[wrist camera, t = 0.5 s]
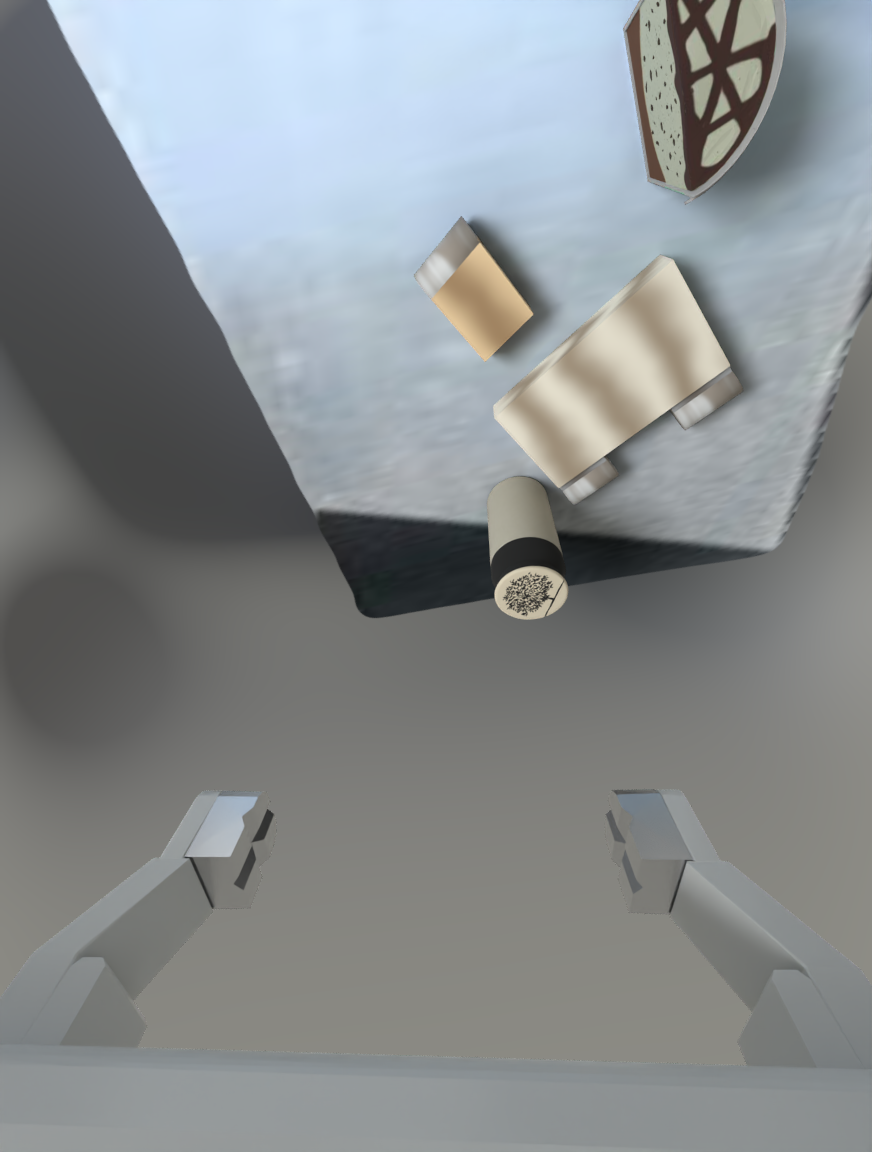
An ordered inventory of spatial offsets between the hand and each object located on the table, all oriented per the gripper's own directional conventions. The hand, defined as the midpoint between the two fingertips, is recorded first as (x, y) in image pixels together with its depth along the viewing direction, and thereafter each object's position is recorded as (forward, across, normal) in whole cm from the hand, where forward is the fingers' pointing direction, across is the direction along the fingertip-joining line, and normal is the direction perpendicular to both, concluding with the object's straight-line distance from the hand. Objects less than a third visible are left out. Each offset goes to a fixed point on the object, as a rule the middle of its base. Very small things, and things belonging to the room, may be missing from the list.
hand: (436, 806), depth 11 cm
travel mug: (+51, -9, +7) cm, 52 cm away
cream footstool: (+46, -18, -6) cm, 50 cm away
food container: (+40, -18, -28) cm, 53 cm away
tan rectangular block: (+44, -3, -16) cm, 47 cm away
